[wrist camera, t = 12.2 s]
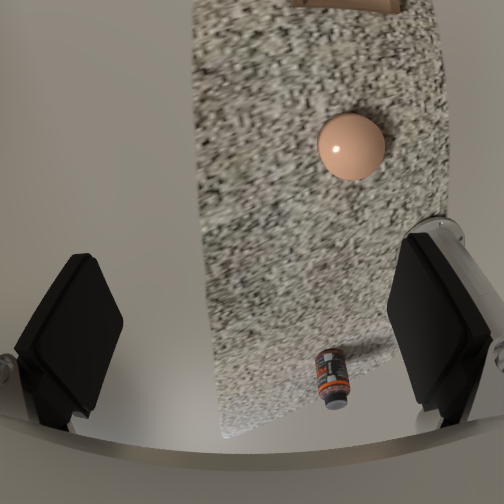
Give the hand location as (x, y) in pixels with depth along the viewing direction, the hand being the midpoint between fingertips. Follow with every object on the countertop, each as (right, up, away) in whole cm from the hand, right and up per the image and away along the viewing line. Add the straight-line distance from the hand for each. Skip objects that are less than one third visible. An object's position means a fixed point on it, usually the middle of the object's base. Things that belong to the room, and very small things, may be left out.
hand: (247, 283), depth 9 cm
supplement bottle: (+16, -20, +51) cm, 57 cm away
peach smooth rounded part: (+12, +14, +27) cm, 33 cm away
